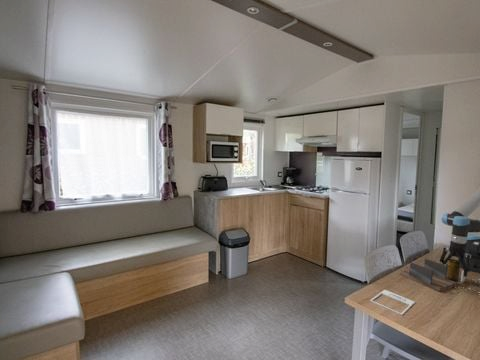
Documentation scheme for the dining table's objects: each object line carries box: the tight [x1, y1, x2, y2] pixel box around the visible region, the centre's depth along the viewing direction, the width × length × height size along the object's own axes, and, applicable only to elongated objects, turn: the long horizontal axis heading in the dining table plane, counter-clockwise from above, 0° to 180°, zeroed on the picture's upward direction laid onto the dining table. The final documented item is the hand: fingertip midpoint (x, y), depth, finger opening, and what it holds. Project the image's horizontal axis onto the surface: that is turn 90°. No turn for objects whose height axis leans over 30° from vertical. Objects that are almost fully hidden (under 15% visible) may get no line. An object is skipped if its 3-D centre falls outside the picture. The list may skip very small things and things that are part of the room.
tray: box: [399, 258, 457, 293], centre depth 161 cm, size 18×22×10 cm
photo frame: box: [369, 289, 416, 316], centre depth 135 cm, size 15×1×18 cm
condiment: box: [446, 258, 466, 284], centre depth 163 cm, size 7×8×12 cm
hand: (453, 277), depth 164 cm, fingers open, 9 cm apart
